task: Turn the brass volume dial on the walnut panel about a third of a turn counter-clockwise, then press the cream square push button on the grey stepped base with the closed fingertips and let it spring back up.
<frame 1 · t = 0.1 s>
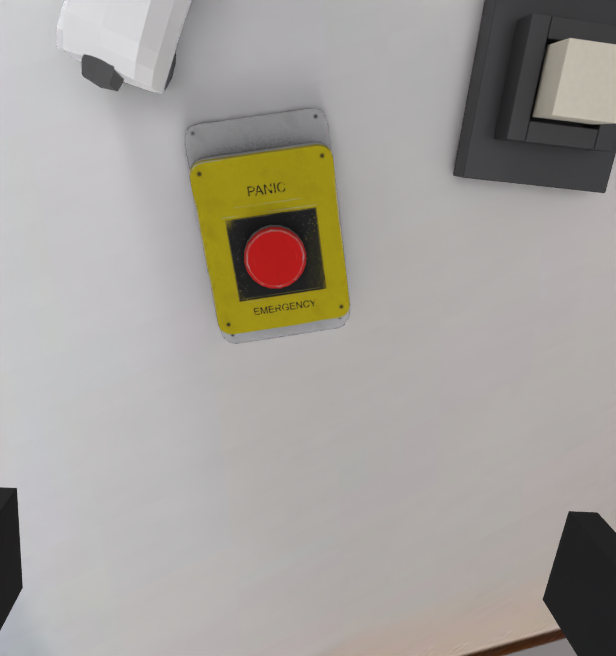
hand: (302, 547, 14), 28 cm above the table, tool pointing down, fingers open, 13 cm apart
emergency button: (271, 231, 39), on the table
grey stepped base: (542, 90, 38), on the table
cream square push button: (581, 83, 33), point 5 cm above the table, slide at 0.1 cm
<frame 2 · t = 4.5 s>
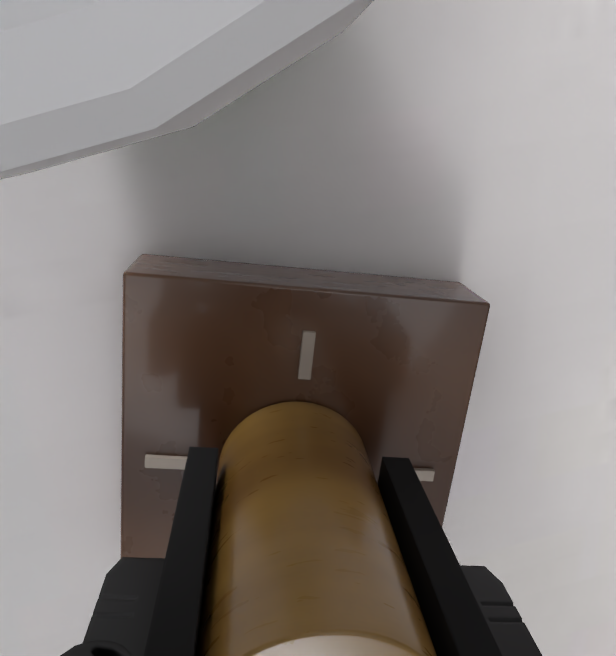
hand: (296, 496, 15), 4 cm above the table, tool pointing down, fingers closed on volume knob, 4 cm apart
volume knob: (304, 567, 13), point 7 cm above the table, hinge at -0.1°, touching gripper
volume panel: (288, 426, 19), on the table
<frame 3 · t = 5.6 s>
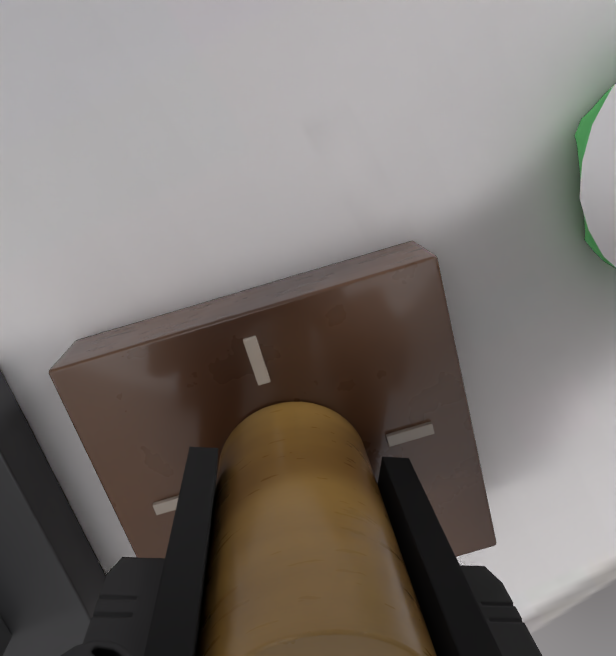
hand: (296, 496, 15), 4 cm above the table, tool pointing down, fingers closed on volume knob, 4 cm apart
volume knob: (304, 567, 13), point 7 cm above the table, hinge at 67.5°, touching gripper
volume panel: (288, 426, 19), on the table
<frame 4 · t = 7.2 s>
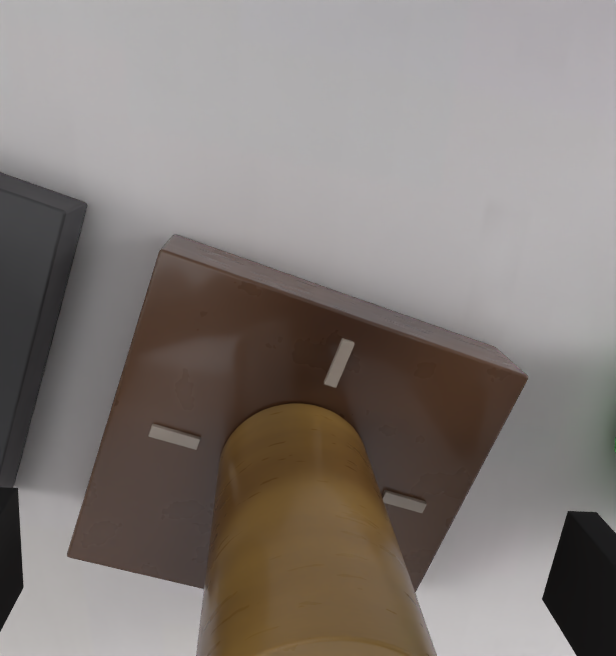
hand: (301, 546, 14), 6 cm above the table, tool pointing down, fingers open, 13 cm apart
volume knob: (304, 571, 13), point 7 cm above the table, hinge at 104.3°
volume panel: (289, 428, 19), on the table
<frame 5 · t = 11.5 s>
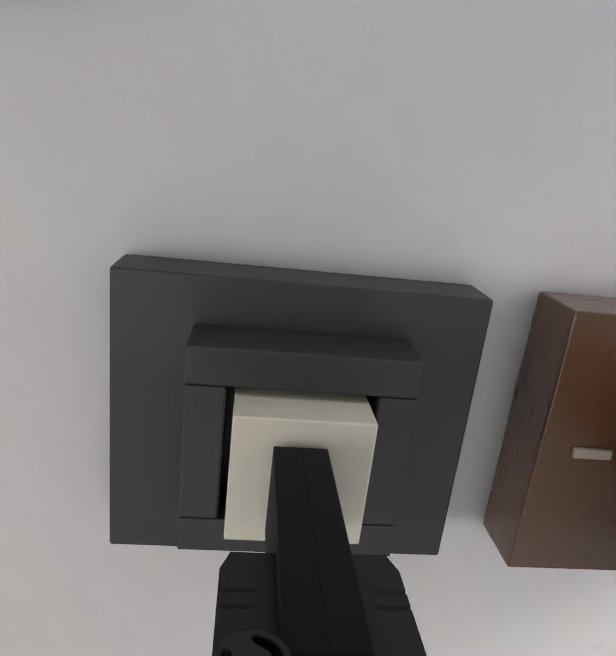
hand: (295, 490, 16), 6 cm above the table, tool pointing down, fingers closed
grey stepped base: (289, 401, 21), on the table
cream square push button: (296, 459, 17), point 4 cm above the table, slide at -0.8 cm, touching gripper
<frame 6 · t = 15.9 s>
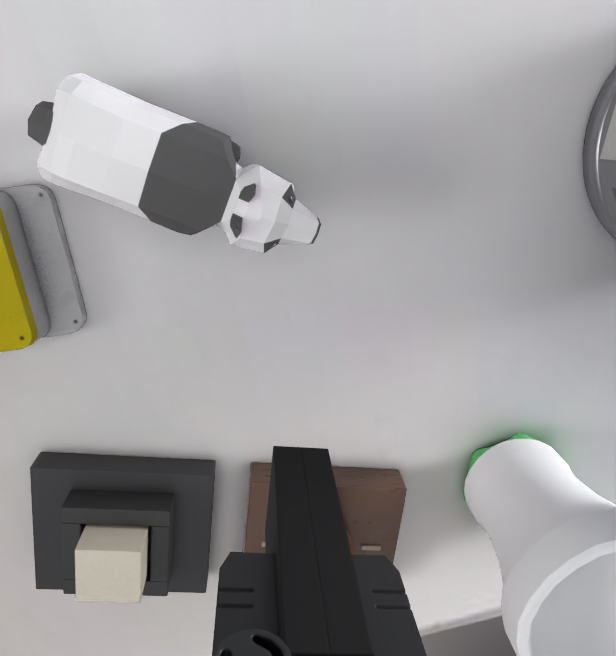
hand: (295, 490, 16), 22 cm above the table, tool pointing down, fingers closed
cup: (506, 473, 43), on the table
giant panda: (185, 167, 34), on the table
volume knob: (328, 589, 37), point 7 cm above the table, hinge at 104.3°
grey stepped base: (128, 515, 41), on the table
volume panel: (318, 522, 43), on the table
cream square push button: (112, 562, 37), point 5 cm above the table, slide at 0.1 cm
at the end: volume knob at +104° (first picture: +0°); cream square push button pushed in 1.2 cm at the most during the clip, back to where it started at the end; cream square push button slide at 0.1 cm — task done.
